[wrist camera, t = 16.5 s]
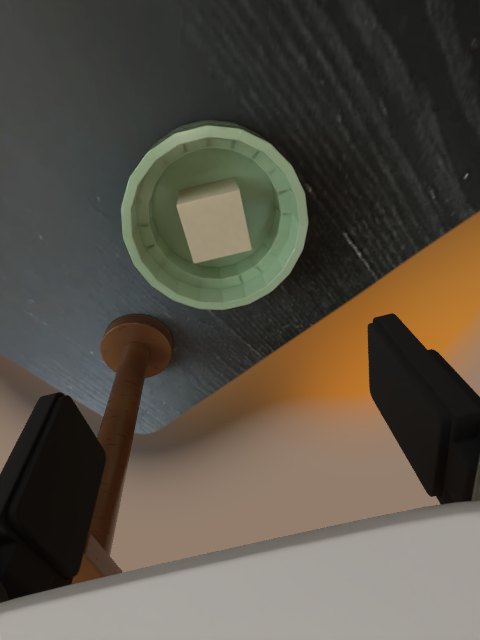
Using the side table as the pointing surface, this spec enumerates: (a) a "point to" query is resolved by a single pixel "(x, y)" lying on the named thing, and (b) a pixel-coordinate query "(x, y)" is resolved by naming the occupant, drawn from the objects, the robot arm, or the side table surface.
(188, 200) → the block
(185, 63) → the side table surface
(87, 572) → the stand
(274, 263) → the green round bowl
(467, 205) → the side table surface
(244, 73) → the side table surface
